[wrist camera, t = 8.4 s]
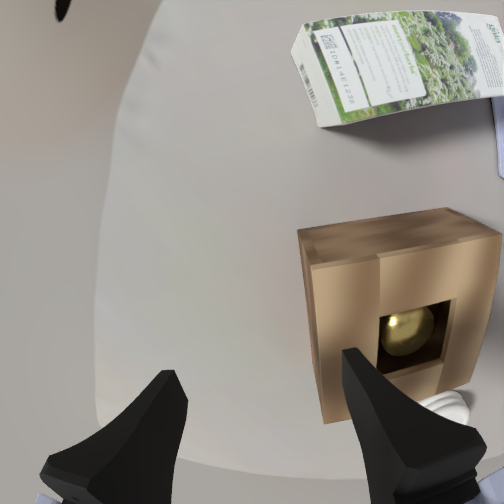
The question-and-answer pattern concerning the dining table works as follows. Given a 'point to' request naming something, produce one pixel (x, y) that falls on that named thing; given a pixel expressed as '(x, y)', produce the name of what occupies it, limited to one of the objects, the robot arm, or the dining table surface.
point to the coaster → (448, 406)
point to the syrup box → (397, 62)
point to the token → (405, 330)
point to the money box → (398, 297)
